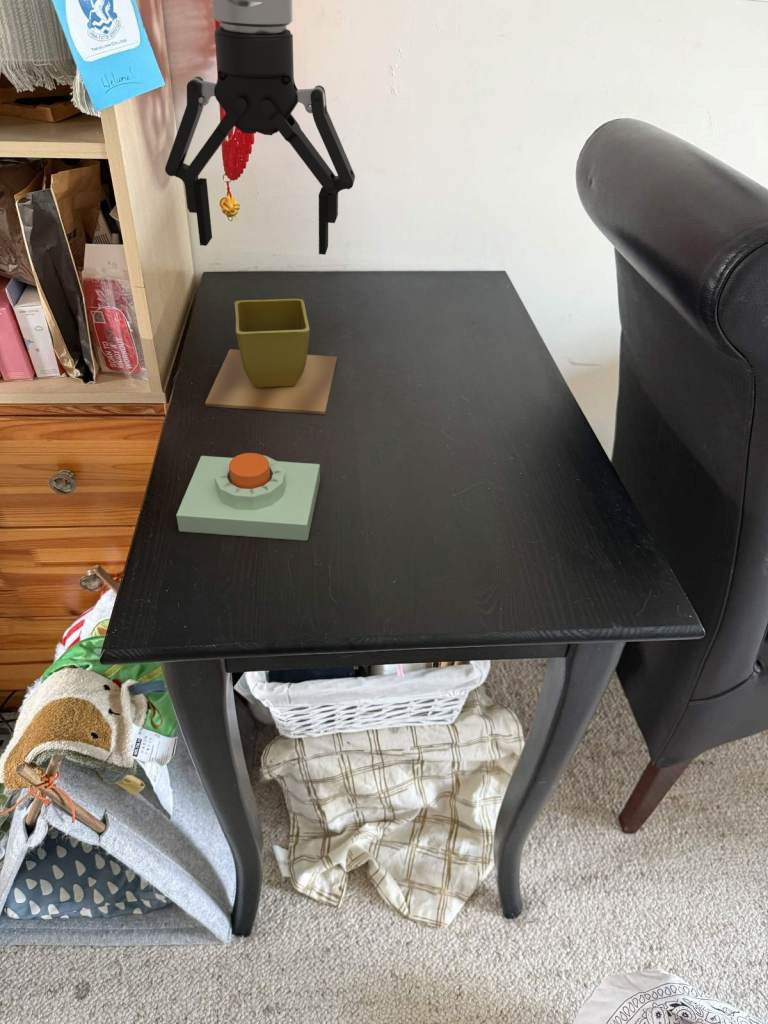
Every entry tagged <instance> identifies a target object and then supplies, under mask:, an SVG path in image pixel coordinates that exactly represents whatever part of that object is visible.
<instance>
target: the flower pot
mask: <svg viewBox="0 0 768 1024" xmlns="http://www.w3.org/2000/svg"><path fill="white" fill-rule="evenodd" d="M234 310H235V335H236V340H237V345H238V350H240V355H241V360H242V364H243V367H244V370H245V372H246V374H247V376H248V378H249V379H250V381H251V382H252V383H253V384H254V385H255V386H256V387H259V388H261V387H280V386H294V385H295V384H296V383H297V382H298V380H299V379H300V377H301V376H302V374H303V371H304V369H305V365H306V360H307V355H308V350H309V341H310V340H309V339H310V331H311V330H310V329H311V328H310V324H309V320H308V315H307V311H306V306H305V302H304V300H303V299H302V298H276V299H274V298H273V299H247V300H245V299H244V300H243V299H242V300H236V301H234Z"/></svg>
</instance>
